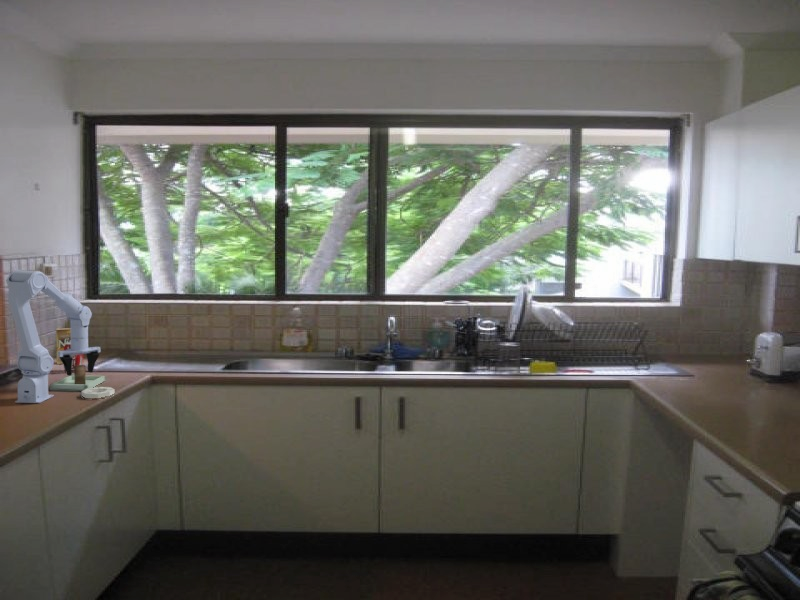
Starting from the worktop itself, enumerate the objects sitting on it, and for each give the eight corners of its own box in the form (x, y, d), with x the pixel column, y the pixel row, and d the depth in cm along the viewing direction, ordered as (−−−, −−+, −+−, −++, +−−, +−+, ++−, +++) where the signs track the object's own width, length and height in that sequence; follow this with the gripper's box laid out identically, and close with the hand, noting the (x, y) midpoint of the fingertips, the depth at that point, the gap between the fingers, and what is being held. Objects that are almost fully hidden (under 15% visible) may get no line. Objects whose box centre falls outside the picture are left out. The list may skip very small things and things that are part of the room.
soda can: (61, 373, 238) (61, 344, 236) (66, 369, 244) (66, 341, 243) (81, 373, 240) (80, 344, 238) (85, 369, 246) (85, 341, 245)
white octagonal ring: (106, 399, 203) (106, 394, 203) (77, 399, 203) (77, 393, 202) (118, 392, 213) (117, 387, 212) (90, 392, 212) (90, 386, 212)
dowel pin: (82, 385, 217) (82, 367, 216) (72, 385, 217) (72, 366, 216) (87, 383, 221) (87, 365, 220) (77, 383, 220) (77, 364, 220)
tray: (86, 391, 213) (86, 385, 212) (49, 390, 212) (49, 384, 212) (105, 381, 228) (105, 375, 227) (70, 380, 227) (70, 374, 227)
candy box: (56, 364, 253) (56, 329, 252) (57, 362, 257) (56, 328, 256) (79, 363, 258) (79, 328, 256) (80, 361, 261) (79, 327, 260)
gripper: (63, 340, 209) (64, 378, 210) (104, 336, 220) (104, 372, 222) (54, 338, 213) (55, 375, 214) (95, 334, 225) (95, 369, 226)
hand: (79, 373), depth 218 cm, fingers open, 7 cm apart
